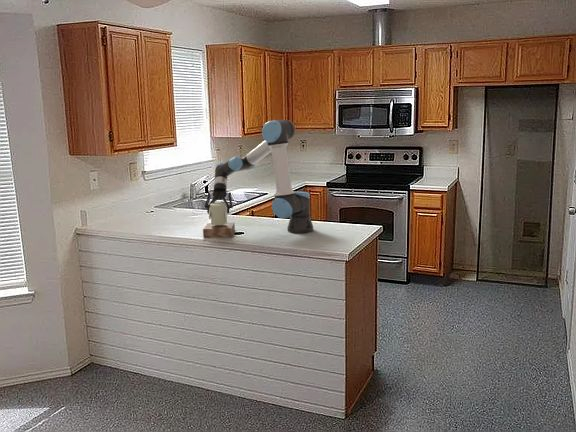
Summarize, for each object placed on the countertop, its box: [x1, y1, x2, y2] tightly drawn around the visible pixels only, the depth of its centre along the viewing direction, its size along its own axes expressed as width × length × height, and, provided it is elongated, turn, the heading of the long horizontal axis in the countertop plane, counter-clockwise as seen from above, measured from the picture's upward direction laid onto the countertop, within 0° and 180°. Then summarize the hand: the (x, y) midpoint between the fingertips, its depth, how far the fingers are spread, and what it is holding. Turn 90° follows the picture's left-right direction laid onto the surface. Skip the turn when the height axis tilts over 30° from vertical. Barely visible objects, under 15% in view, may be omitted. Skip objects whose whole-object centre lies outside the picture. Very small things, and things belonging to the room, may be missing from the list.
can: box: [209, 202, 228, 225], centre depth 324 cm, size 9×9×12 cm
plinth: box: [202, 222, 236, 239], centre depth 326 cm, size 16×16×5 cm
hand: (217, 217), depth 321 cm, fingers closed on can, 9 cm apart
